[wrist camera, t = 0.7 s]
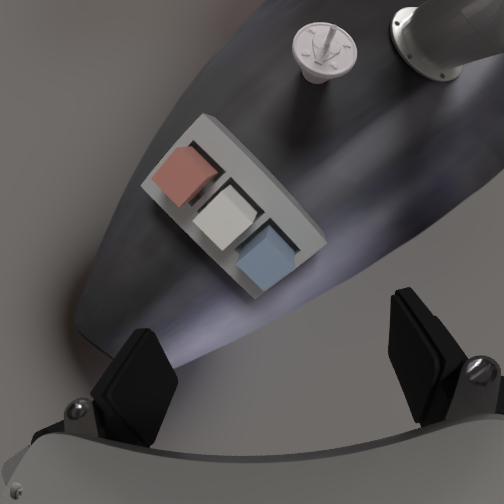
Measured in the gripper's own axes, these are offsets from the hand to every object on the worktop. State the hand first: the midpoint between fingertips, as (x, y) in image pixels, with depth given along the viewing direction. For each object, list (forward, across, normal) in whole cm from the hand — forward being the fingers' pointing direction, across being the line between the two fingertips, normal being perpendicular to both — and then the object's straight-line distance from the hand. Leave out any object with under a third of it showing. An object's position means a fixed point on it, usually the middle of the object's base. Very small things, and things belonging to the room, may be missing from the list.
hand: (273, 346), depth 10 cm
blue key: (+23, +2, +4) cm, 24 cm away
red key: (+23, +9, -7) cm, 26 cm away
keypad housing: (+28, +5, -1) cm, 29 cm away
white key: (+23, +5, -1) cm, 24 cm away
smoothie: (+28, -9, -17) cm, 34 cm away
